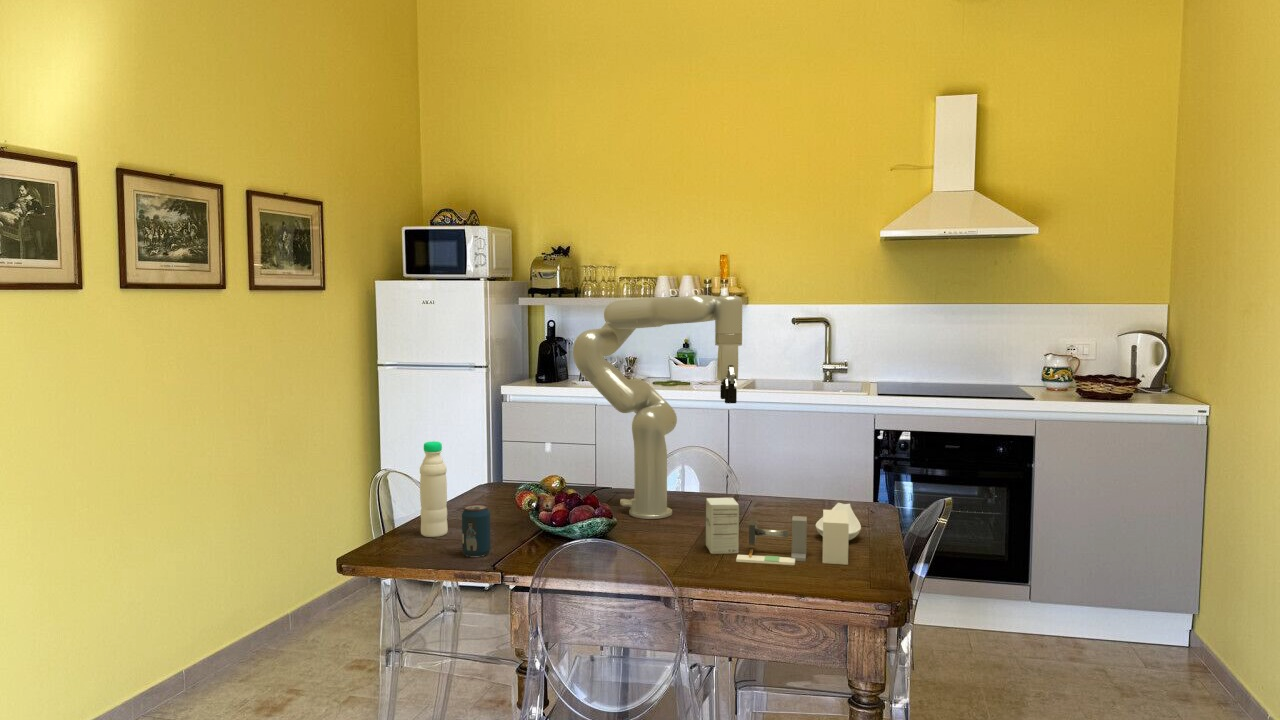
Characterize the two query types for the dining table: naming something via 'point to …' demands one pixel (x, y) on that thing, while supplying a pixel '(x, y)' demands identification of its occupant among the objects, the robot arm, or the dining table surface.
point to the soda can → (476, 530)
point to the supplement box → (722, 525)
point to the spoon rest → (853, 521)
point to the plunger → (762, 533)
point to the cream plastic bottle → (433, 492)
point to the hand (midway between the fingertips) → (728, 401)
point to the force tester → (832, 541)
